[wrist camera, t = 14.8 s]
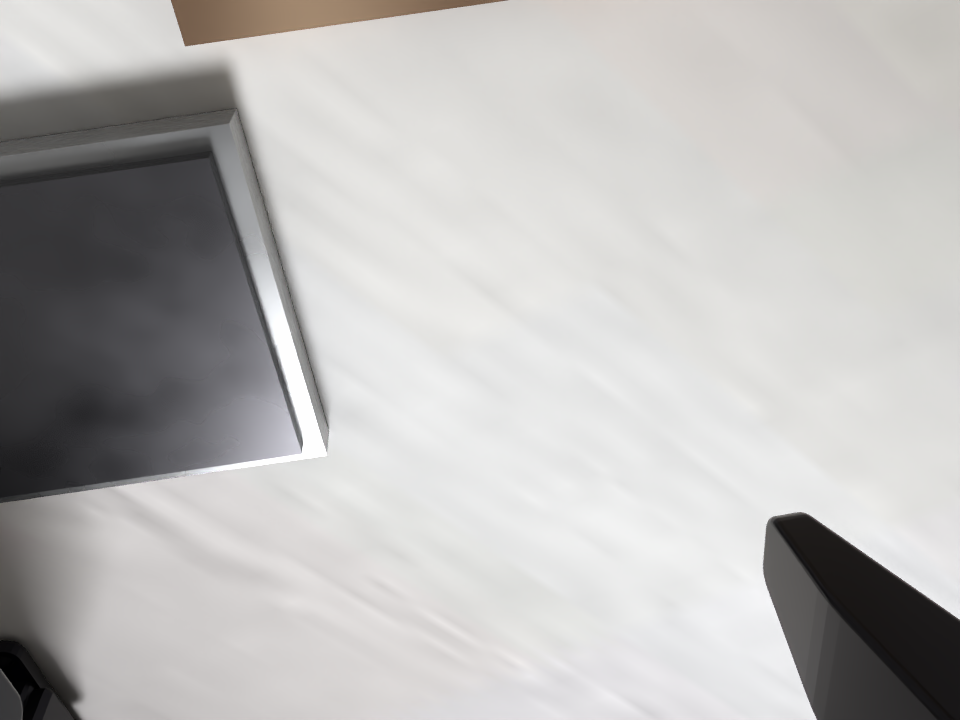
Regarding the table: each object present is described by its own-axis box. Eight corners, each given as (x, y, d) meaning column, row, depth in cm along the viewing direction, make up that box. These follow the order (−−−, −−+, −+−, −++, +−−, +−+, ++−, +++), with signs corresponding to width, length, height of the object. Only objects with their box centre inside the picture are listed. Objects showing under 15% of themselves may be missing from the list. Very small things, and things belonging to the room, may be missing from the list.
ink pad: (3, 478, 23) (-17, 515, 22) (-184, 168, 18) (-224, 194, 16) (329, 431, 23) (325, 465, 22) (236, 108, 18) (225, 130, 17)
